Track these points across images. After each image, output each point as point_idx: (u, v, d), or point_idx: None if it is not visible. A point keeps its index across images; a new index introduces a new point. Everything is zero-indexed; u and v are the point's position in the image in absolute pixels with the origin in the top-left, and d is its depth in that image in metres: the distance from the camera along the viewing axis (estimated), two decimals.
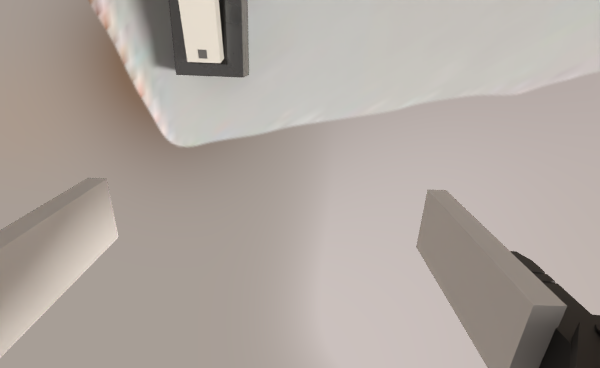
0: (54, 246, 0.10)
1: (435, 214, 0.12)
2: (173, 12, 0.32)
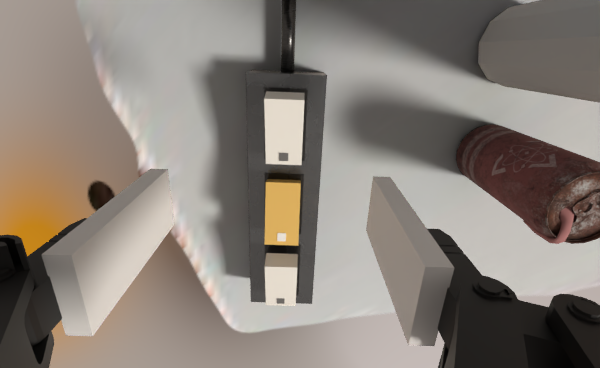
0: (135, 228, 0.12)
1: (377, 198, 0.14)
2: (252, 259, 0.36)
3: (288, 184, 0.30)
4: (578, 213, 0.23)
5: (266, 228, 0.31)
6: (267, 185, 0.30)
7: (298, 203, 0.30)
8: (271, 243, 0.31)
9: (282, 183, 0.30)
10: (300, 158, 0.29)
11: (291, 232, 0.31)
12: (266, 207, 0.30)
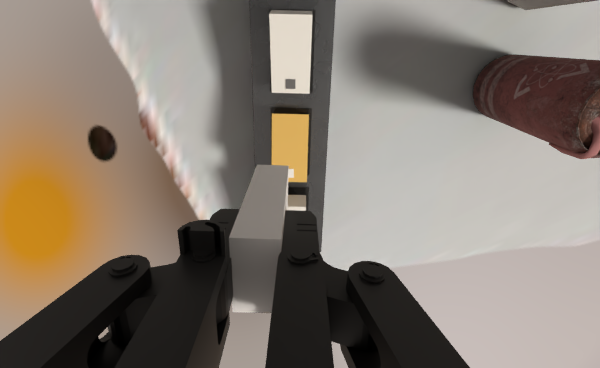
0: None
1: None
2: None
3: (295, 116, 0.29)
4: None
5: (273, 164, 0.29)
6: (273, 117, 0.29)
7: (306, 136, 0.29)
8: None
9: (289, 114, 0.29)
10: (308, 85, 0.27)
11: (299, 168, 0.29)
12: (273, 141, 0.29)
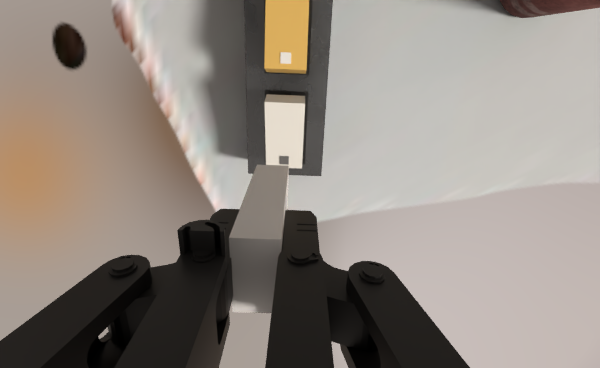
0: None
1: None
2: (250, 112, 0.29)
3: None
4: None
5: (266, 46, 0.25)
6: None
7: (306, 12, 0.24)
8: (273, 66, 0.25)
9: None
10: None
11: (298, 51, 0.25)
12: (266, 17, 0.24)
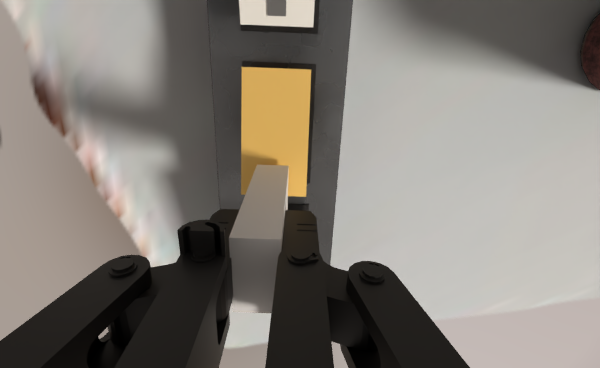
0: None
1: None
2: None
3: (286, 72, 0.15)
4: None
5: (244, 162, 0.16)
6: (245, 74, 0.15)
7: (306, 111, 0.15)
8: None
9: (275, 70, 0.15)
10: (311, 10, 0.14)
11: (292, 170, 0.16)
12: (243, 119, 0.16)
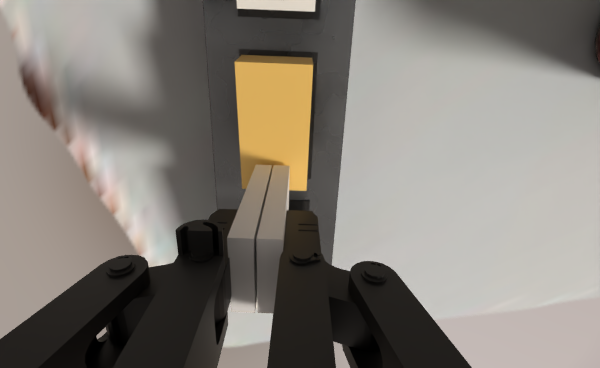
0: None
1: None
2: None
3: (285, 67, 0.14)
4: None
5: (243, 159, 0.16)
6: (239, 69, 0.14)
7: (307, 110, 0.14)
8: None
9: (272, 65, 0.13)
10: None
11: (293, 167, 0.16)
12: (240, 118, 0.15)
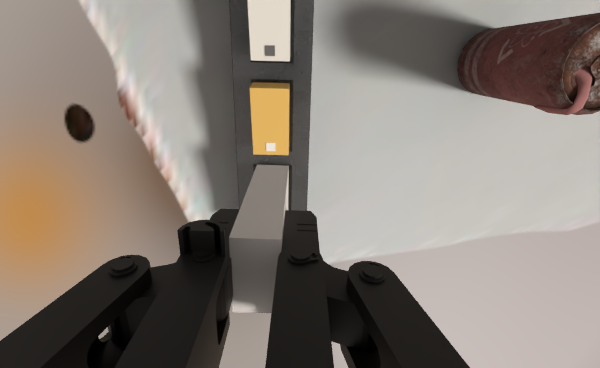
0: None
1: None
2: (241, 182, 0.33)
3: (275, 90, 0.27)
4: (597, 74, 0.20)
5: (254, 138, 0.29)
6: (251, 91, 0.27)
7: (287, 111, 0.28)
8: (260, 153, 0.30)
9: (268, 89, 0.27)
10: (288, 52, 0.27)
11: (280, 142, 0.29)
12: (252, 116, 0.28)
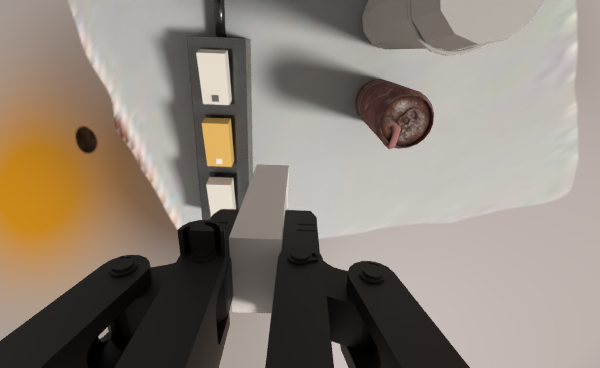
0: None
1: None
2: (201, 184, 0.46)
3: (219, 124, 0.40)
4: (402, 125, 0.34)
5: (207, 155, 0.42)
6: (203, 125, 0.40)
7: (228, 138, 0.41)
8: (212, 165, 0.43)
9: (214, 124, 0.40)
10: (227, 99, 0.40)
11: (225, 158, 0.43)
12: (204, 141, 0.41)
